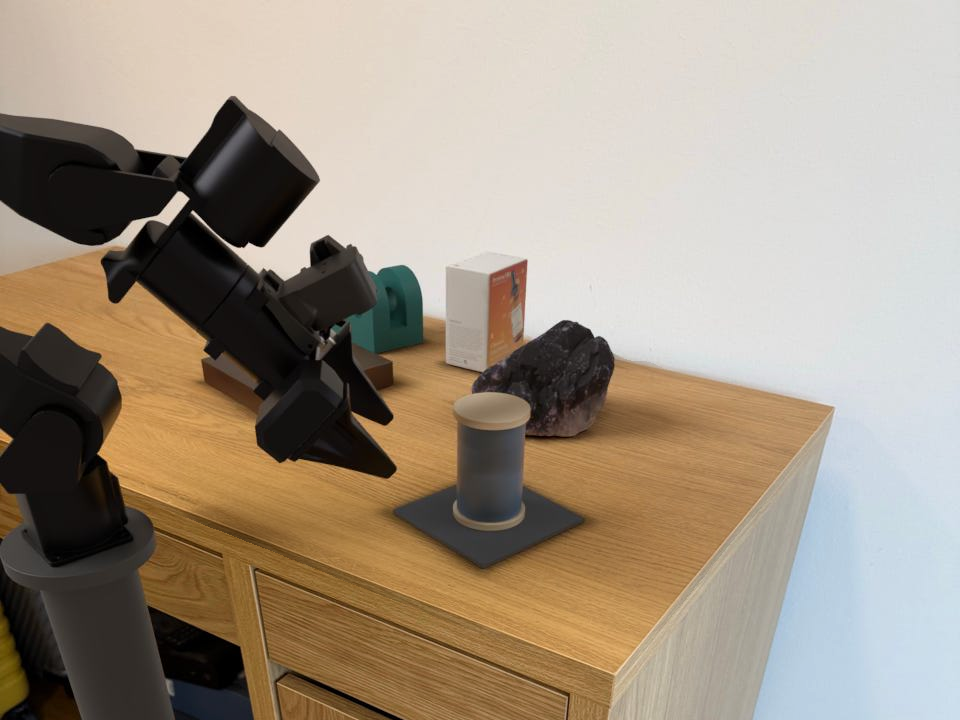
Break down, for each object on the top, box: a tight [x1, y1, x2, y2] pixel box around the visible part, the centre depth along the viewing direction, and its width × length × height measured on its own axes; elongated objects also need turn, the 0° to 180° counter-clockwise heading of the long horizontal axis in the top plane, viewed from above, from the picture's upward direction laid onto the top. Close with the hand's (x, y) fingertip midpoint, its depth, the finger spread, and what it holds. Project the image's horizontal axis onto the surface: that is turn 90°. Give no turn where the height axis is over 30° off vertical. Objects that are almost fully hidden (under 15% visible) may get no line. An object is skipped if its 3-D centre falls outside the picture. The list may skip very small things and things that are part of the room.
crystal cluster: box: [471, 319, 616, 437], centre depth 88 cm, size 13×14×10 cm
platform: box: [200, 342, 394, 415], centre depth 95 cm, size 15×13×2 cm
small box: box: [445, 250, 529, 373], centre depth 99 cm, size 8×6×10 cm
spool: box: [452, 392, 531, 531], centre depth 71 cm, size 6×6×9 cm
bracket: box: [331, 264, 424, 354], centre depth 108 cm, size 18×7×8 cm, turn 38°
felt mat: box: [392, 483, 586, 570], centre depth 74 cm, size 11×11×1 cm
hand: (391, 446), depth 69 cm, fingers open, 9 cm apart
